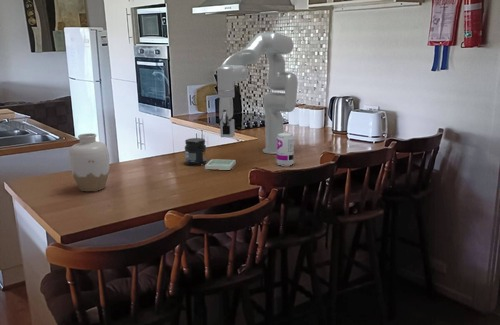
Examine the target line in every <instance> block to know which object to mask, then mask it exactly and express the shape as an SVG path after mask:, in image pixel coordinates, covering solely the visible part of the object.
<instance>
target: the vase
mask: <svg viewBox="0 0 500 325" xmlns="http://www.w3.org/2000/svg"><path fill="white" fill-rule="evenodd" d="M77 138H78V140H79V142H78V143H75V144H73V145H72V146H71V147H70V148H69V152H68V163H69V166H70V171H71V174H72V178H73V179H74V181H75V183H76V185H77V187H78V188H79V190H80V191H81V190H82V191H81V192H83V191H95V192H99V191H98V190H100V191H102V190H104V189H105V187H106V185H107V181H108V178H109V172H110V165H111V163H110V160H111V158H110V152H109V149H108V146H107V145H106V144H105V143H104V142H101V141H97V140H96V138H97V134H96V133H82V134H78V135H77ZM103 188H104V189H103ZM101 189H102V190H101Z"/></svg>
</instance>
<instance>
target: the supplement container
mask: <svg viewBox="0 0 500 325" xmlns="http://www.w3.org/2000/svg"><path fill="white" fill-rule="evenodd" d="M184 142H185V146H184V154H185V155H184V157H185V158H184V159H185V164H186V165H187V164H188V166H191V165H199V166H202V165H201V164H203V165H206V164H207V163H208V161H207V146H206V144H205V143H206V140H205V138H201V137H194V138H193V137H192V138H187V139H185V141H184Z"/></svg>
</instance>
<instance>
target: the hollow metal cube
mask: <svg viewBox="0 0 500 325" xmlns="http://www.w3.org/2000/svg"><path fill="white" fill-rule="evenodd" d="M222 124H223V118H222V119H220V120H219V128H220V132H219V133H220V138H233V137H235V135H236V133H235V132H236V130H235V129H236V128H235V119H234V118H232V119H229V126H230V134H223V127H222V126H223V125H222Z"/></svg>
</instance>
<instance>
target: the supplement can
mask: <svg viewBox="0 0 500 325" xmlns="http://www.w3.org/2000/svg"><path fill="white" fill-rule="evenodd" d="M294 144H295V136H294V134H293V133H290V132H283V133H279V134H278V136H277V154H276V164H277V166H279V165H281V166H280V167H290V165H292V164H293V165H294V163H295V162H294V161H295V159H294V158H295V156H294V155H295V153H294V152H295V150H294V149H295V148H294V147H295V145H294ZM293 165H292V166H293Z"/></svg>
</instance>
